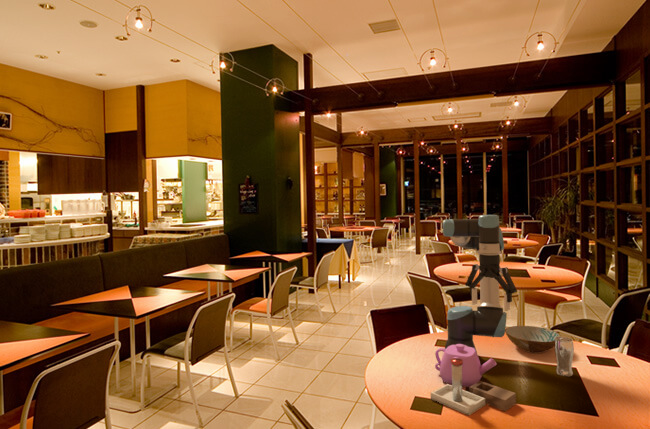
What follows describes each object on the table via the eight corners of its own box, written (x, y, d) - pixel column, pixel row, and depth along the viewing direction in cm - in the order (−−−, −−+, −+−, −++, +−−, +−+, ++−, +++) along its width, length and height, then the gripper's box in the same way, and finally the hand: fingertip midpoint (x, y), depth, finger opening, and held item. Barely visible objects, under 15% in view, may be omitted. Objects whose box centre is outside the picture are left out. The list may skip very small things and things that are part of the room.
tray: (430, 399, 153) (430, 392, 152) (447, 390, 159) (447, 383, 159) (468, 415, 140) (468, 408, 140) (485, 405, 147) (485, 398, 147)
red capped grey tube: (449, 399, 150) (448, 360, 150) (455, 395, 153) (454, 357, 152) (459, 404, 147) (458, 363, 146) (466, 400, 149) (465, 360, 149)
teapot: (430, 371, 178) (429, 339, 178) (474, 366, 181) (473, 335, 181) (450, 390, 159) (449, 355, 159) (498, 385, 162) (498, 350, 162)
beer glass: (576, 377, 167) (576, 341, 167) (558, 376, 169) (558, 341, 168) (570, 370, 174) (569, 336, 174) (552, 369, 176) (552, 335, 175)
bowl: (517, 337, 219) (516, 322, 218) (568, 348, 200) (568, 332, 200) (496, 349, 202) (496, 333, 201) (551, 362, 183) (550, 345, 183)
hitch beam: (469, 397, 153) (469, 387, 153) (480, 390, 158) (480, 380, 158) (505, 411, 142) (505, 400, 142) (516, 403, 147) (515, 393, 147)
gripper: (456, 252, 166) (457, 303, 166) (516, 257, 146) (517, 315, 147) (466, 250, 170) (467, 300, 171) (525, 255, 151) (526, 311, 152)
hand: (490, 307), depth 159 cm, fingers open, 13 cm apart
